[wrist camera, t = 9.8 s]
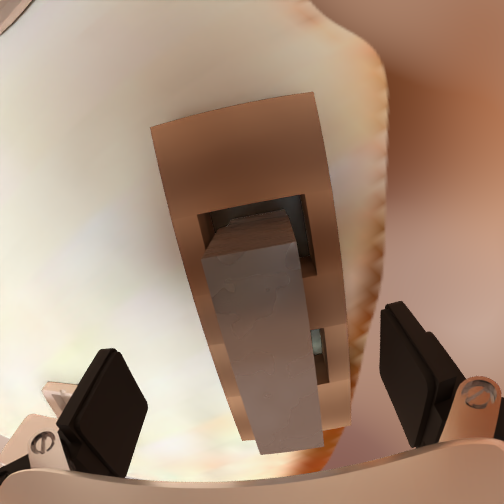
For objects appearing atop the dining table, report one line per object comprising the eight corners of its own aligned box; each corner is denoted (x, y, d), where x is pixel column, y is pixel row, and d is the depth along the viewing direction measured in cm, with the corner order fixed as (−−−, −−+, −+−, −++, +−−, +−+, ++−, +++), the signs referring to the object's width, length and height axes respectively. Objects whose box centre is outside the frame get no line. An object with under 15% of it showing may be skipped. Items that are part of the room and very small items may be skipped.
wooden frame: (168, 130, 16) (149, 127, 13) (305, 101, 16) (313, 91, 13) (244, 411, 22) (242, 440, 19) (343, 396, 22) (351, 425, 19)
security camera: (74, 432, 25) (36, 502, 16) (43, 380, 23) (-11, 452, 14) (125, 440, 25) (91, 522, 15) (95, 386, 23) (42, 475, 13)
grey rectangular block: (228, 210, 18) (200, 259, 10) (283, 200, 17) (296, 242, 10) (263, 358, 21) (260, 454, 13) (308, 351, 20) (323, 446, 13)
